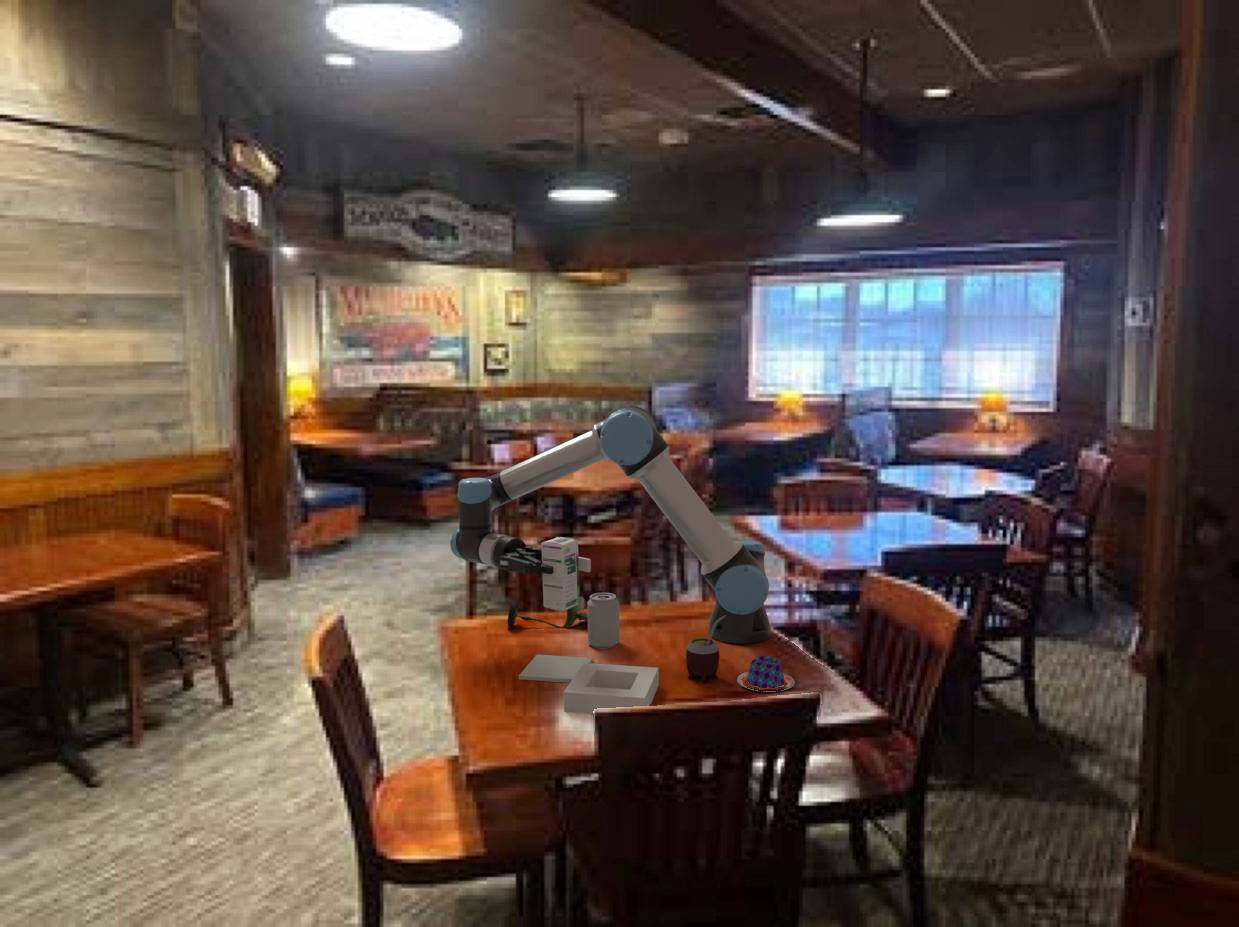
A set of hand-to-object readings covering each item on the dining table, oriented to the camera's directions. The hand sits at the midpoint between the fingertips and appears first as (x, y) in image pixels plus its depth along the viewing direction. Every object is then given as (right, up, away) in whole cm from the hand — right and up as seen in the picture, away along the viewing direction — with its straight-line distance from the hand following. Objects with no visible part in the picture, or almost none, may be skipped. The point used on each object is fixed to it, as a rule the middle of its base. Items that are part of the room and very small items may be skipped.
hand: (577, 568), depth 188 cm
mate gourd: (+27, -24, +3) cm, 36 cm away
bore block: (+7, -25, -7) cm, 27 cm away
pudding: (+39, -24, +1) cm, 46 cm away
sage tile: (-5, -23, +9) cm, 26 cm away
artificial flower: (-8, -19, +40) cm, 45 cm away
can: (+5, -21, +25) cm, 33 cm away
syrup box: (-4, -9, +5) cm, 10 cm away
